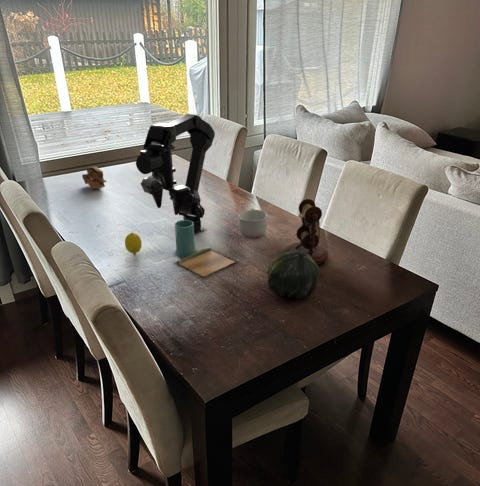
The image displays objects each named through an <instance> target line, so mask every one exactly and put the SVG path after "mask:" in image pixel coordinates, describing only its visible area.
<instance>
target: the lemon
mask: <svg viewBox="0 0 480 486" xmlns="http://www.w3.org/2000/svg"><path fill="white" fill-rule="evenodd" d="M142 243H143V242H142V238H141V237H140V235H138V234H137V233H136V232H130V233H128V234H127V235H126V236H125V239H124V246H125V249H126V250H127V252H129V253H130V254H133V255H136V254H137V253H139V252H140V251H141V250H142Z"/></svg>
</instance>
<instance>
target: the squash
mask: <svg viewBox="0 0 480 486" xmlns="http://www.w3.org/2000/svg"><path fill="white" fill-rule="evenodd" d="M318 265H319V264H316V263H315V261H314V260H313V259H312V257H311V256H310V255H309V254H307V253H305V252H303V251H291V252H286V253H284V252H283V253H281V254H279V255H277V256H276V257H274V258H273V259H272V260H271V262H269V265H268V268H267V285H268V287H269V289H270V290H271V291H272V292H273V293H276V294H278V295H279V296H281V297H285V296H286V297H288V298H294V299H297V300H303V299H304V298H306V297H308V296H310V295H312V293H314V292H315V291H316V288H317V285H318V281H319V278H320V268H319V266H318Z"/></svg>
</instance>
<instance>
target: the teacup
mask: <svg viewBox="0 0 480 486" xmlns="http://www.w3.org/2000/svg"><path fill="white" fill-rule="evenodd" d="M237 217H238V218H237V219H238V228H239V231H240V233H241V234H243V235H244V236H246V237H248V238H258V237H261V236H263V234H265V233H266V231H267V229H268V217H269V215H268V213H267V211H264V210H261V209H255V208H254V207H252V208H250V209H248V210H247V209H246V210H243V211H242V212H241V211H240V213H239V214H238V215H237Z"/></svg>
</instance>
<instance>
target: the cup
mask: <svg viewBox="0 0 480 486" xmlns="http://www.w3.org/2000/svg"><path fill="white" fill-rule="evenodd" d="M174 234H175V235H174V236H175V247H176V248H175V249H176V255H177V256H179V257H180V258H183V257H185V256H188V255H190V254H192V253H195V252H196V242H195V241H196V238H195V237H196V236H195V234H194V222H192V221H190V220H184V219H180V220H177V221H175V222H174Z"/></svg>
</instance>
